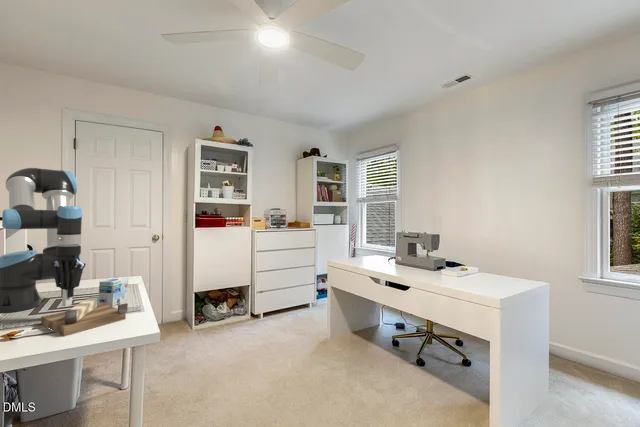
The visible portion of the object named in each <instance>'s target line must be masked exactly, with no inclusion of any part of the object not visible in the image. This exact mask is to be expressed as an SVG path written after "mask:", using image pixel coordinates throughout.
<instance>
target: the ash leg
mask: <svg viewBox="0 0 640 427" xmlns="http://www.w3.org/2000/svg"><path fill="white" fill-rule="evenodd" d="M98 305H99V296H89V297H87V298H86V299H84V300H82V301H81V302H79V303H77V304H76V305H74V306H73V307H72V308H70V309H69V310H65V311H66V312H65V311H64V312H65V324H71V323H75V322H77V321H78V320H80V319H81V318H82V317H84V316H85V315H86V314H88V313H89V312H90V311H92V310H93V309H94V308H96V307H97V306H98Z"/></svg>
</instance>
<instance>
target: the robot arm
mask: <svg viewBox="0 0 640 427" xmlns="http://www.w3.org/2000/svg"><path fill="white" fill-rule="evenodd" d="M77 186H78V183H77V179H76V175H75V174H74V173H73V172H72V171H66V170H59V169H58V170H57V169H48V168H38V167H28V168H22V169H19V170H17V171H14V172H12V173H11V174H10V175H9V176H8V177H7V178H6V181H5V188H6V190H7V191H8V202H9V203H8V204H9V205H8V207H9V208H7V209H3V210H2V213H1V214H2V217H1V218H2V220H1V223H2V224H1V227H2V228H3V229H6V230H39V229H40V230H41V229H42V230H45V229H46V241H47V242H46V243H47V244H46V247H44V248H43V249H42V253H38V251H37V250H34V249H33V250H32V249H31V250H21V251H14V252H10V253H6V254H3V255H1V256H0V313H2V314H5V313H14V312H22V311H27V310H31V309H34V308H37V307H39V306H41V303H42V302H41V301H42V300H41V296H40V294H39V292H38V289H37V287H36V286H37V283H36V282H38V281H45V280H46V281H47V280H54V282H55V286H56V288H60V290H61V294H60V295H61V297H62V298H61V299H62V301H61V302H62V303H61V306H62V307H68V306H71V305H73V297H74V293H75V292H74V289H75V288H78V287H80V283H81V281H82V280H81V278H82V274H83V271H84V269H85V267H86V262H81V254H82V246H81V244H82V220H83V212H82V211H83V210H82V207H81V206H80V205H79V206H78V205H71V204H70V202H71V201H70V200H71V199H73V198H74V195H77V193H78V187H77ZM34 193H37V194H41V197H42V198H43V199H44V200H46V209H36V203H35V194H34Z"/></svg>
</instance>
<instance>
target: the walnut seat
mask: <svg viewBox="0 0 640 427" xmlns="http://www.w3.org/2000/svg"><path fill="white" fill-rule="evenodd" d="M66 311H67V310H65V311H61V312H56V313H52V314H46V315H43V316H40V326H42V327H43V328H47V329H48V328H50V329H52V330H53V331H52V330H51V331H52V332H54V331H55V333H57V334H59V335H61V336H62V337H66V336H70V335H73V334H74V335H75V334H77V333H81V332H84V331H85V332H86V331H88V330H93V329H95V328H100V327H101V326H106V325H110V324H113V323H117V322H120V321H123V320H126V314H127V313H126V312H128V302H127V303H125V302H124V303H122V304H121V303H120V304H117V307H114V306H108V305H105V304H102V303H101V304H99V305H98V306H97V307H96V308H94V309H93V310H92V311H90V312H89V313H88V314H86V315H85V316H84V317H82V318H81V319H80V320H78V321H77V322H75V323H71V324H65V312H66ZM50 329H49V330H50Z"/></svg>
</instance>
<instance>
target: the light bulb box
mask: <svg viewBox="0 0 640 427" xmlns="http://www.w3.org/2000/svg"><path fill="white" fill-rule="evenodd" d="M98 286H99V287H98V297H99V304H101V303H102V304H105V305H108V306H111V307H114V306H116V305H120V304H121V303H123V302H126V301H128V299H129V298H128V294H129V277H126V276H125V277H124V276H114V277H111V278H110V277H109V278H107V279H104V280H101V281H99V285H98Z"/></svg>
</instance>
